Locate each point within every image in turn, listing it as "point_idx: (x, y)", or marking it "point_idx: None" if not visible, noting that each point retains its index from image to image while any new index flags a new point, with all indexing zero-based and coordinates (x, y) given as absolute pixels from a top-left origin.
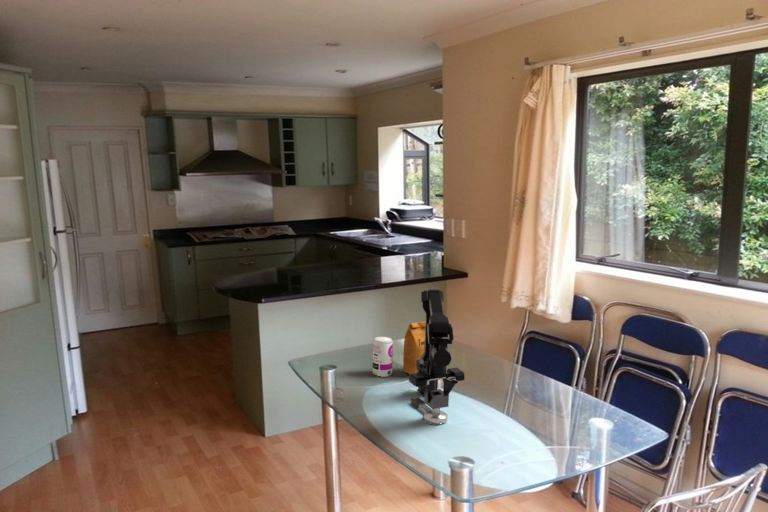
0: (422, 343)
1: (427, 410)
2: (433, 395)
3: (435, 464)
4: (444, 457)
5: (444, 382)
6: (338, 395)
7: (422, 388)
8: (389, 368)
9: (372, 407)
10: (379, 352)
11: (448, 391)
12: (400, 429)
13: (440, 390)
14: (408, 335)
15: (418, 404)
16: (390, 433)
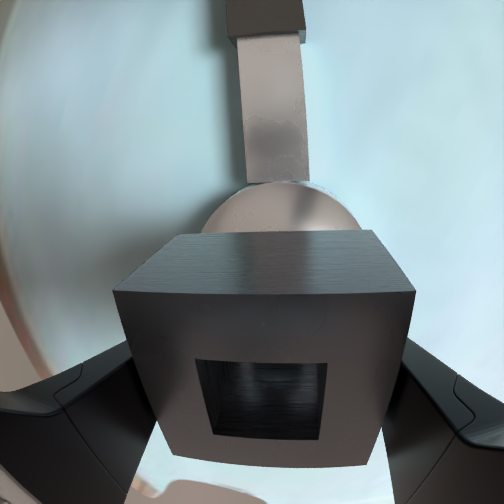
0: None
1: (264, 159)
2: (193, 429)
3: (152, 478)
4: (183, 476)
5: (465, 473)
6: None
7: (34, 394)
8: None
9: (27, 26)
10: None
11: (396, 466)
12: (69, 293)
13: (383, 343)
14: None
15: (239, 37)
16: (38, 306)
